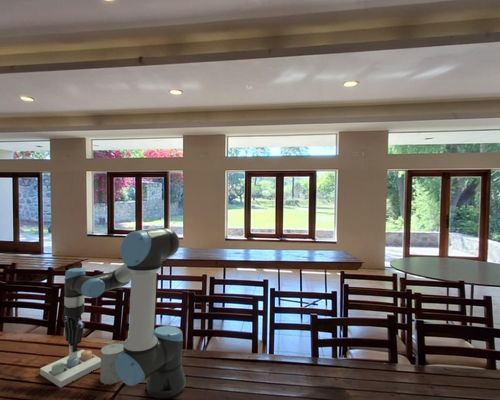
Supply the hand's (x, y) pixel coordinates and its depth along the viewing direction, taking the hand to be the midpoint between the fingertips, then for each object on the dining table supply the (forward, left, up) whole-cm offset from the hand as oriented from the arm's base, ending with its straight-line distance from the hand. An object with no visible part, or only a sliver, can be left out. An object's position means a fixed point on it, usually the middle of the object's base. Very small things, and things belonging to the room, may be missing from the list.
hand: (72, 358), depth 126 cm
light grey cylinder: (-19, -6, -5) cm, 21 cm away
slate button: (0, 0, -5) cm, 5 cm away
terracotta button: (0, -6, -5) cm, 8 cm away
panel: (0, 0, -5) cm, 5 cm away
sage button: (0, +6, -5) cm, 8 cm away
